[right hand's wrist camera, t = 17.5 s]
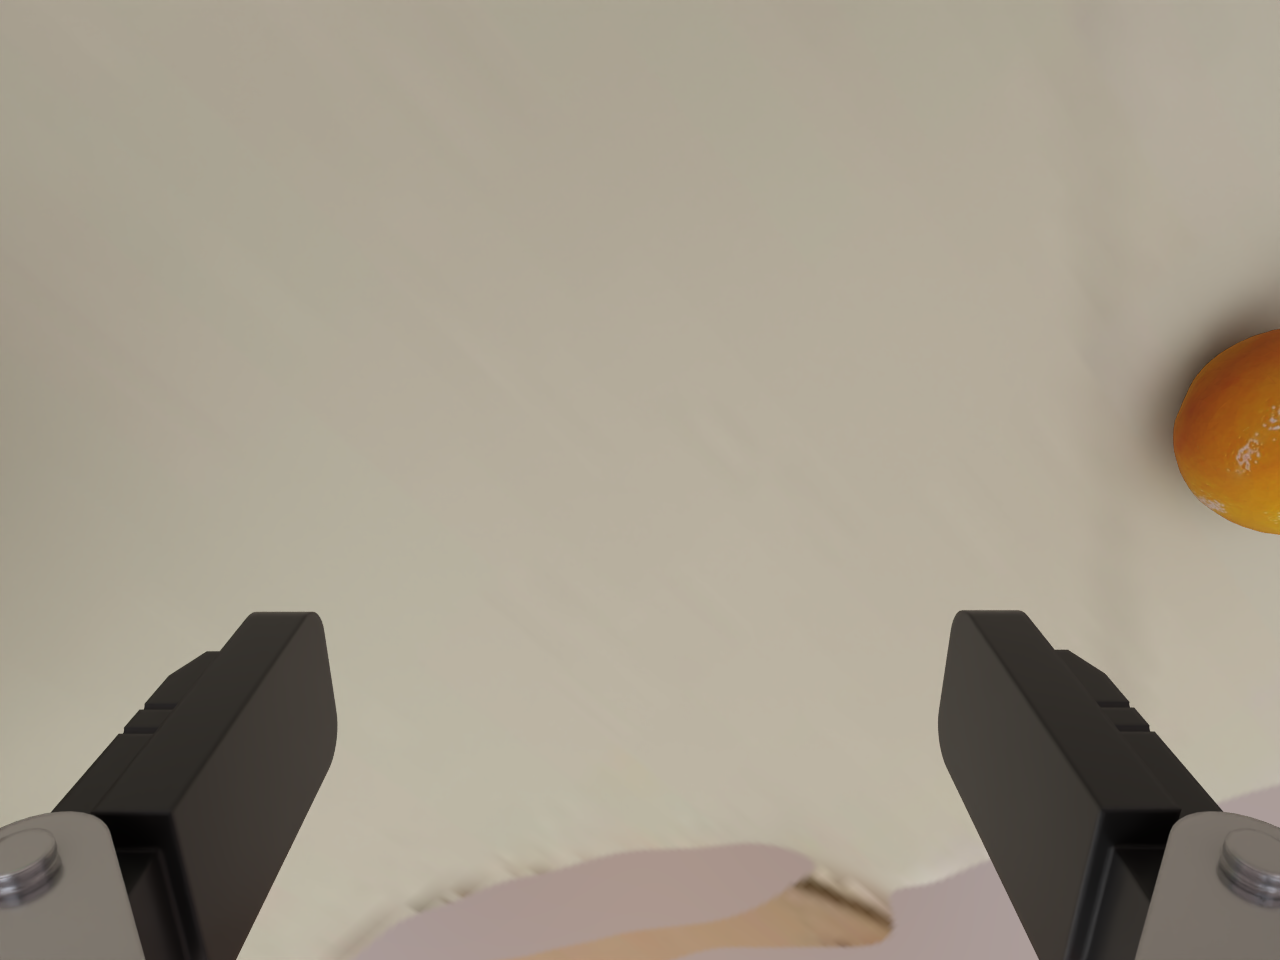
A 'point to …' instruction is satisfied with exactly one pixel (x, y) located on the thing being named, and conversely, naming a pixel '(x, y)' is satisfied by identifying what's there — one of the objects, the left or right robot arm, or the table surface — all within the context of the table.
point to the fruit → (1235, 434)
